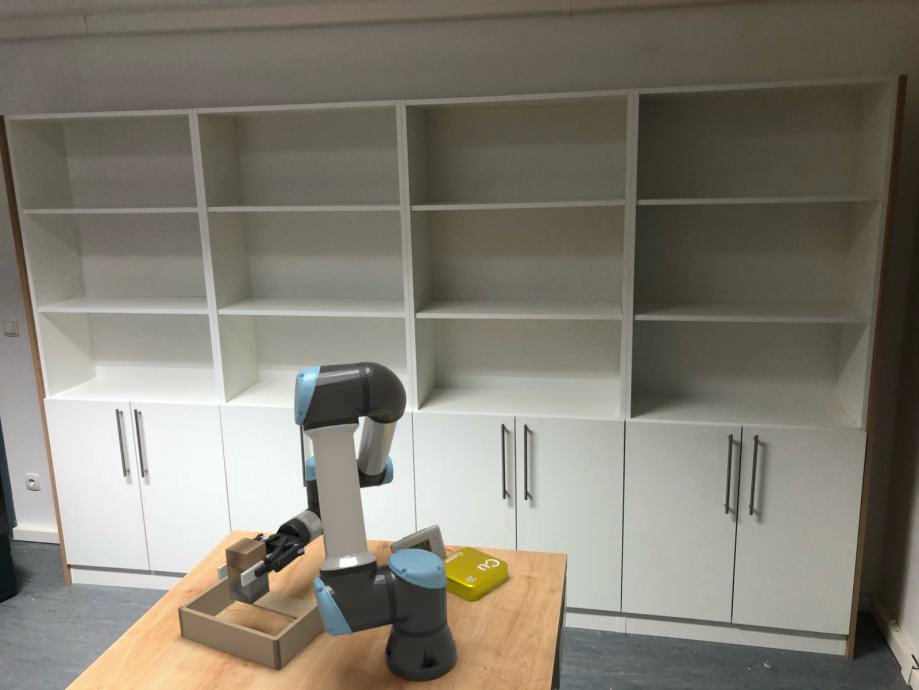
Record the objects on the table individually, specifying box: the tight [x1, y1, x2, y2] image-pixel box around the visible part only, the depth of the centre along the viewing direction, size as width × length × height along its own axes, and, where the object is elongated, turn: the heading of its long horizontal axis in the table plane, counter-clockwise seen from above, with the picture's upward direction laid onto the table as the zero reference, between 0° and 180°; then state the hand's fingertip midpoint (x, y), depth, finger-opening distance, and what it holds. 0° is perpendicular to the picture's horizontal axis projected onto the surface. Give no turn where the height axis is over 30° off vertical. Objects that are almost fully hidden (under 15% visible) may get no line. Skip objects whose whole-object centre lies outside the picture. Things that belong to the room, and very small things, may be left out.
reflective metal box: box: [225, 537, 271, 606], centre depth 157 cm, size 6×6×12 cm
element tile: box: [442, 546, 509, 602], centre depth 179 cm, size 15×15×5 cm
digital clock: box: [390, 524, 448, 560], centre depth 183 cm, size 16×9×11 cm, turn 122°
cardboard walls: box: [177, 576, 325, 671], centre depth 162 cm, size 28×22×7 cm
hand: (230, 577), depth 153 cm, fingers closed on reflective metal box, 6 cm apart
